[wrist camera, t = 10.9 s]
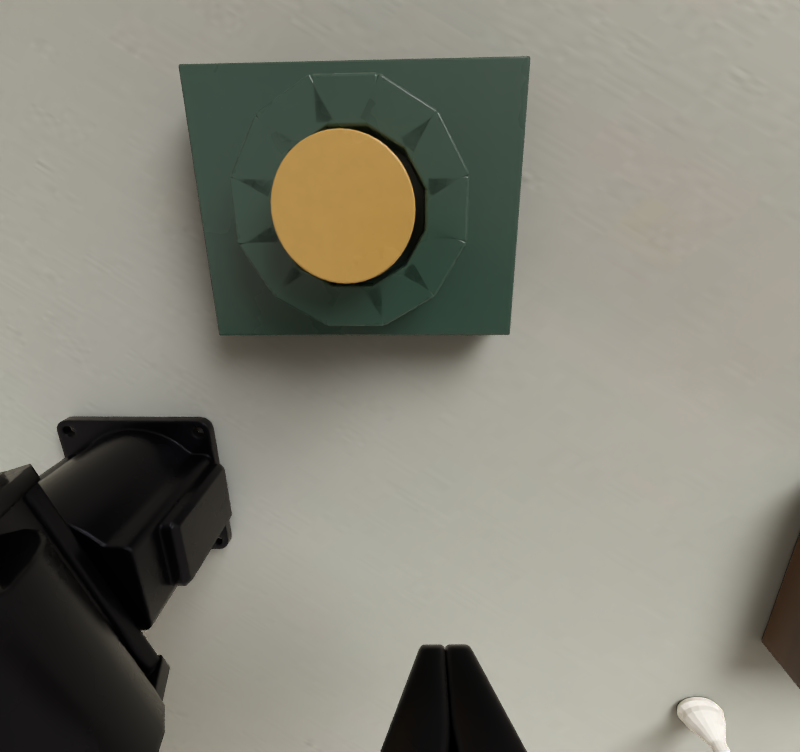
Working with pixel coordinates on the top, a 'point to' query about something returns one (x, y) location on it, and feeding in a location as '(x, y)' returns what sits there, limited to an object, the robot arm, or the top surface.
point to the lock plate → (787, 621)
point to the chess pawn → (705, 721)
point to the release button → (343, 205)
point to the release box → (419, 154)
